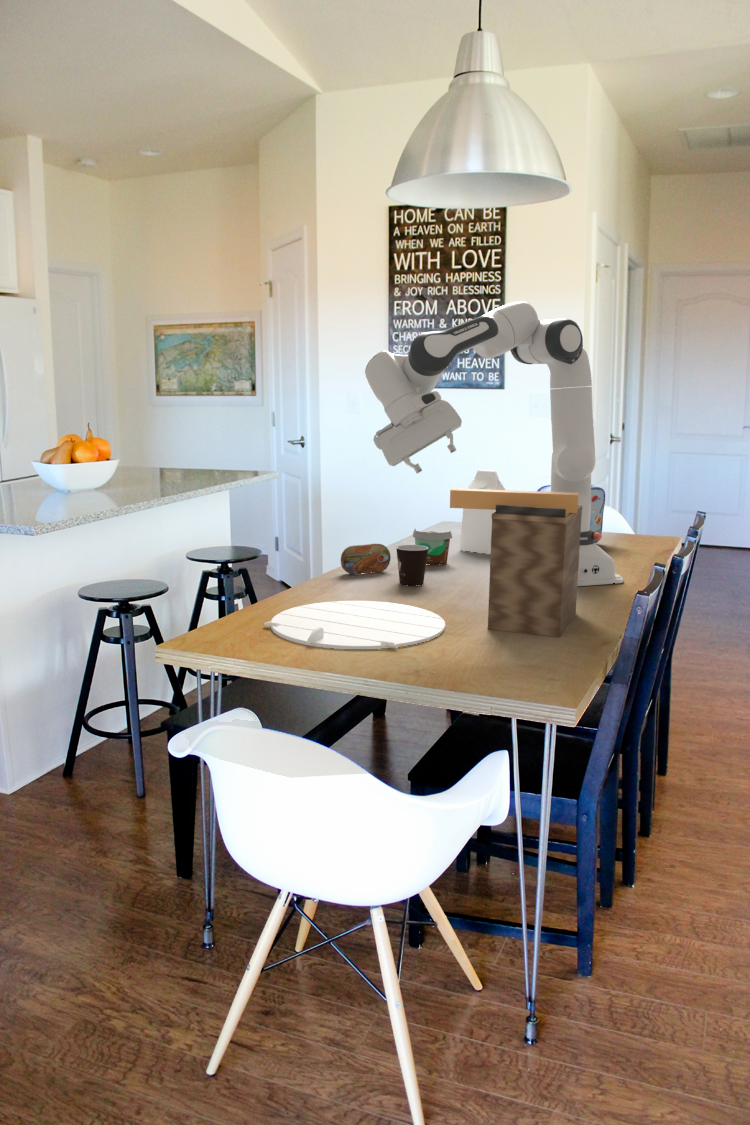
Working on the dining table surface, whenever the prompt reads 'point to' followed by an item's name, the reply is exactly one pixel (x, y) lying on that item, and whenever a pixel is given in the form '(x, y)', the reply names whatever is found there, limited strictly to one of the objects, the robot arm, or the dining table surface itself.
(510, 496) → the orange block
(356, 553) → the tin
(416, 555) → the coffee mug
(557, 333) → the robot arm
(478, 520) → the milk
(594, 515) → the lunch box
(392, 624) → the lazy susan
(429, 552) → the food container
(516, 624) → the walnut stand
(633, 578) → the dining table surface
